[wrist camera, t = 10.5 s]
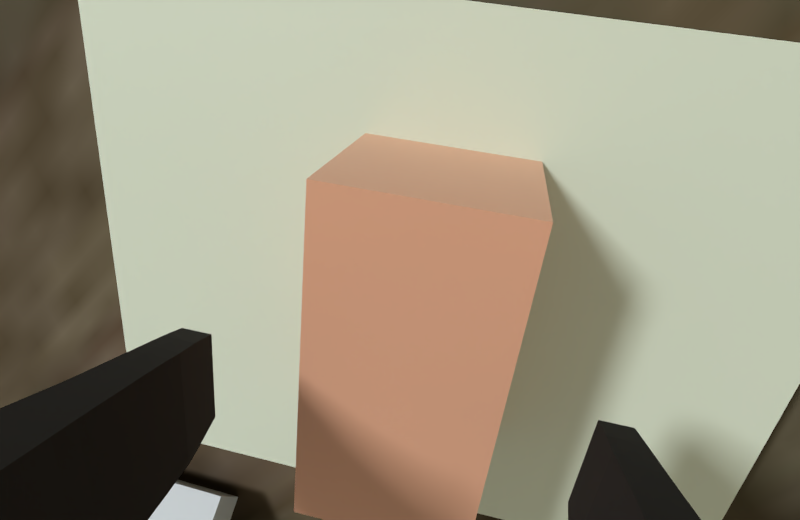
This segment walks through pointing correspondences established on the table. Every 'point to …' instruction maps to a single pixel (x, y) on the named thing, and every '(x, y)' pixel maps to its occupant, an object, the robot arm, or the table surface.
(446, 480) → the terracotta brick
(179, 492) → the grey-blue slab
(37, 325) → the table surface
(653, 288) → the board
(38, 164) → the table surface
